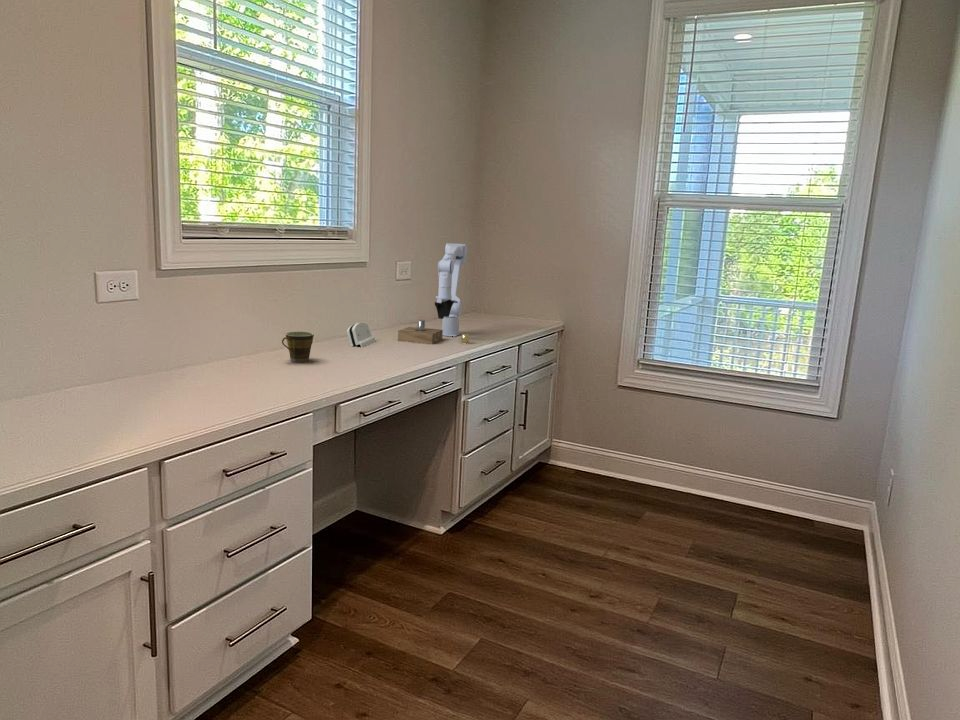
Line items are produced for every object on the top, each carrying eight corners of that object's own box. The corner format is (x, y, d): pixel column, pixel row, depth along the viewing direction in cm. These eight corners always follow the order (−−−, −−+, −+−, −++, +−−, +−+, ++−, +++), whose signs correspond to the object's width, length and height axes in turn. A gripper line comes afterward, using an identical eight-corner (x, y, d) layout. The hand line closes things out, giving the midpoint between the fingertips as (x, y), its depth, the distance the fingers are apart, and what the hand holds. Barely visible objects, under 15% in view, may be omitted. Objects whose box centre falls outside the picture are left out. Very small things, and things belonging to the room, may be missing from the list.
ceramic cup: (301, 356, 262) (301, 330, 260) (319, 360, 257) (319, 334, 255) (273, 361, 252) (273, 334, 250) (291, 365, 246) (291, 338, 244)
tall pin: (418, 339, 311) (419, 319, 310) (425, 340, 311) (425, 320, 309) (416, 340, 308) (416, 320, 307) (422, 341, 308) (423, 321, 306)
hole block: (409, 336, 318) (409, 326, 317) (442, 339, 314) (442, 329, 313) (397, 340, 305) (398, 330, 304) (431, 344, 301) (432, 334, 300)
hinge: (361, 347, 286) (354, 324, 285) (351, 350, 287) (344, 327, 286) (376, 341, 302) (369, 319, 301) (366, 343, 303) (359, 322, 302)
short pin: (462, 342, 309) (463, 333, 308) (469, 343, 308) (469, 334, 307) (460, 343, 306) (460, 334, 305) (467, 344, 305) (467, 335, 304)
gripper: (441, 285, 315) (440, 315, 318) (431, 287, 301) (429, 318, 304) (456, 286, 313) (455, 316, 316) (446, 288, 299) (445, 320, 302)
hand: (443, 317), depth 310 cm, fingers open, 7 cm apart
